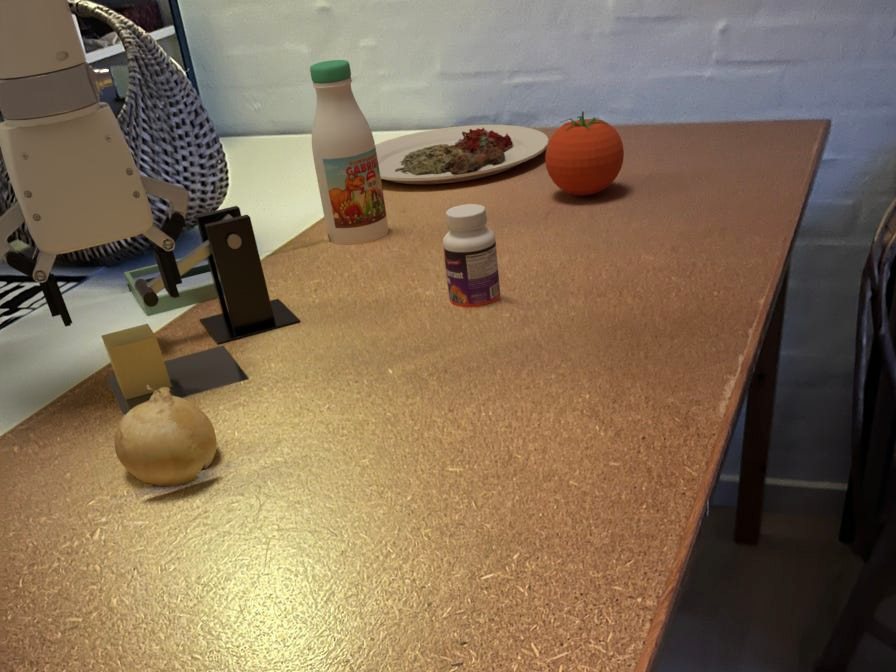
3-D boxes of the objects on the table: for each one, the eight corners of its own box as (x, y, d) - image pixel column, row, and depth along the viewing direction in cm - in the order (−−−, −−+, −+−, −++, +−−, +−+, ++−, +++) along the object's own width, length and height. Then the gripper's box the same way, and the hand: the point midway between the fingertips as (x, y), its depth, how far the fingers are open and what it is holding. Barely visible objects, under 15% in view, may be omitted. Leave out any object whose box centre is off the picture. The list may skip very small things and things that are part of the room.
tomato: (612, 206, 125) (610, 120, 119) (536, 206, 129) (531, 122, 122) (633, 183, 132) (632, 100, 126) (561, 183, 136) (557, 103, 130)
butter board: (126, 424, 90) (123, 414, 89) (109, 386, 97) (105, 376, 96) (252, 388, 93) (249, 378, 92) (226, 354, 100) (223, 344, 100)
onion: (239, 475, 80) (215, 395, 75) (145, 510, 77) (115, 429, 73) (205, 441, 85) (181, 364, 81) (117, 472, 83) (87, 395, 78)
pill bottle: (443, 304, 105) (430, 209, 99) (488, 292, 106) (479, 198, 100) (462, 319, 101) (450, 222, 95) (509, 307, 102) (501, 210, 96)
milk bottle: (319, 251, 123) (283, 71, 111) (347, 231, 129) (316, 57, 116) (373, 252, 121) (342, 68, 108) (399, 232, 126) (373, 54, 113)
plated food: (319, 191, 146) (315, 166, 143) (407, 138, 166) (404, 116, 164) (506, 193, 135) (504, 166, 133) (575, 136, 156) (574, 112, 153)
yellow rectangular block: (126, 400, 91) (107, 349, 88) (118, 385, 94) (101, 335, 91) (172, 387, 93) (156, 336, 90) (163, 373, 96) (147, 323, 92)
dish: (149, 324, 109) (142, 301, 108) (130, 293, 118) (123, 272, 116) (254, 297, 113) (248, 274, 111) (227, 269, 122) (222, 248, 120)
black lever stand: (220, 353, 101) (186, 235, 93) (202, 330, 106) (169, 217, 99) (302, 331, 103) (276, 214, 96) (280, 309, 109) (254, 197, 101)
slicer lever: (153, 314, 97) (137, 293, 95) (143, 299, 101) (128, 279, 99) (251, 242, 97) (237, 221, 96) (238, 231, 101) (225, 210, 99)
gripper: (145, 70, 83) (204, 273, 94) (-68, 112, 78) (19, 320, 89) (163, 80, 77) (223, 294, 88) (-65, 125, 73) (27, 346, 83)
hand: (120, 307), depth 89 cm, fingers open, 9 cm apart
